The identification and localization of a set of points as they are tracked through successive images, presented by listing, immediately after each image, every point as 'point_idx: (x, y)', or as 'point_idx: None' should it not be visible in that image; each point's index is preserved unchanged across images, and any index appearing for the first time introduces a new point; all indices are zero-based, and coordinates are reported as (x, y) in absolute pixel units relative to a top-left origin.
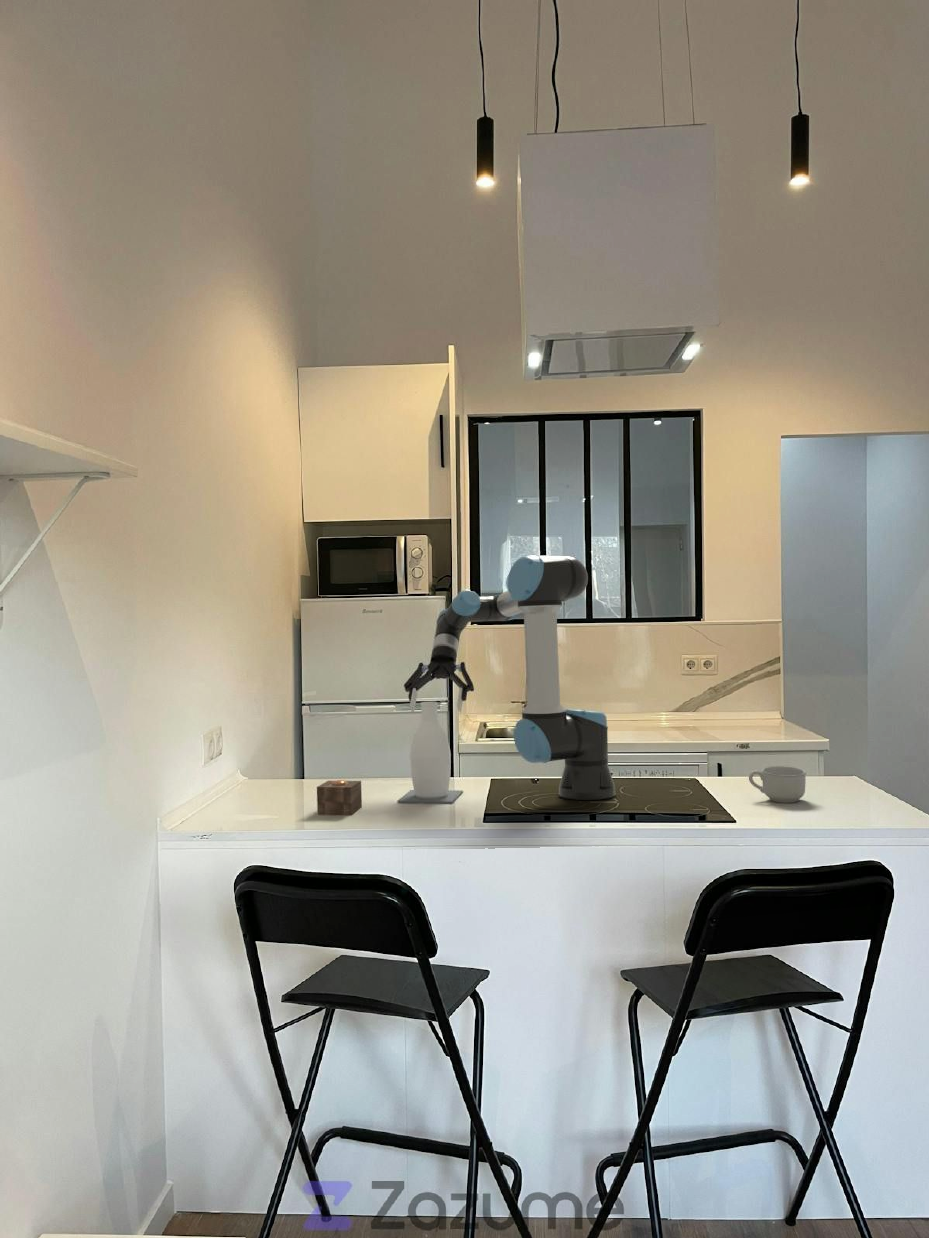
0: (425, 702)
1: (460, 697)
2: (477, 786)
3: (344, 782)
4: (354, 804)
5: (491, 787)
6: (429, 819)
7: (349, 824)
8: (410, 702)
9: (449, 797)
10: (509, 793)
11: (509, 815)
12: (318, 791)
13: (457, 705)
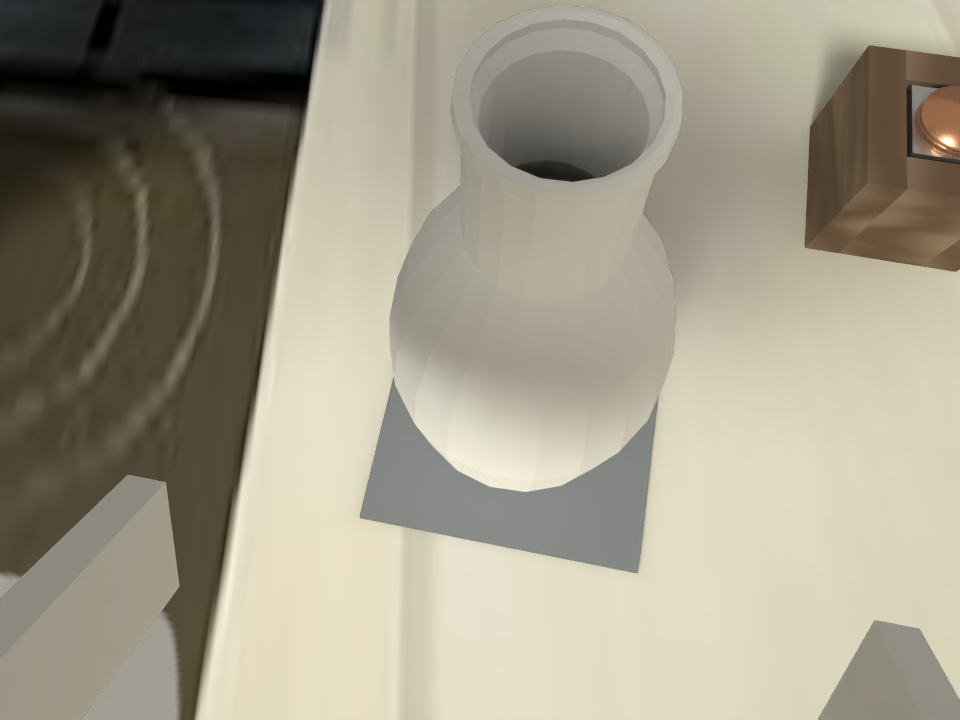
0: (624, 169)
1: (11, 595)
2: (270, 694)
3: (927, 97)
4: (824, 141)
5: (198, 649)
6: None
7: (776, 2)
8: (953, 691)
9: None
10: (138, 466)
11: (223, 67)
12: None
13: (159, 481)
